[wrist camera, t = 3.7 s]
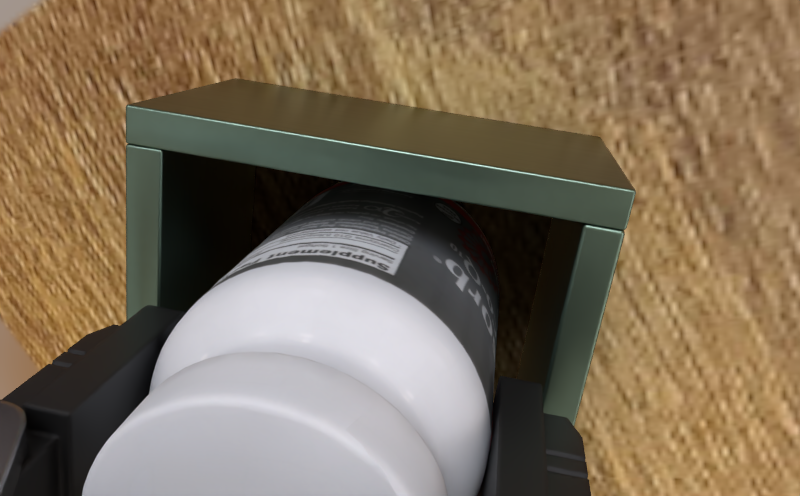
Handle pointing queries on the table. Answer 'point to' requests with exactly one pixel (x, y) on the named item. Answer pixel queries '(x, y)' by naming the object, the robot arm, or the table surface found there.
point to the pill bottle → (327, 363)
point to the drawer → (380, 167)
